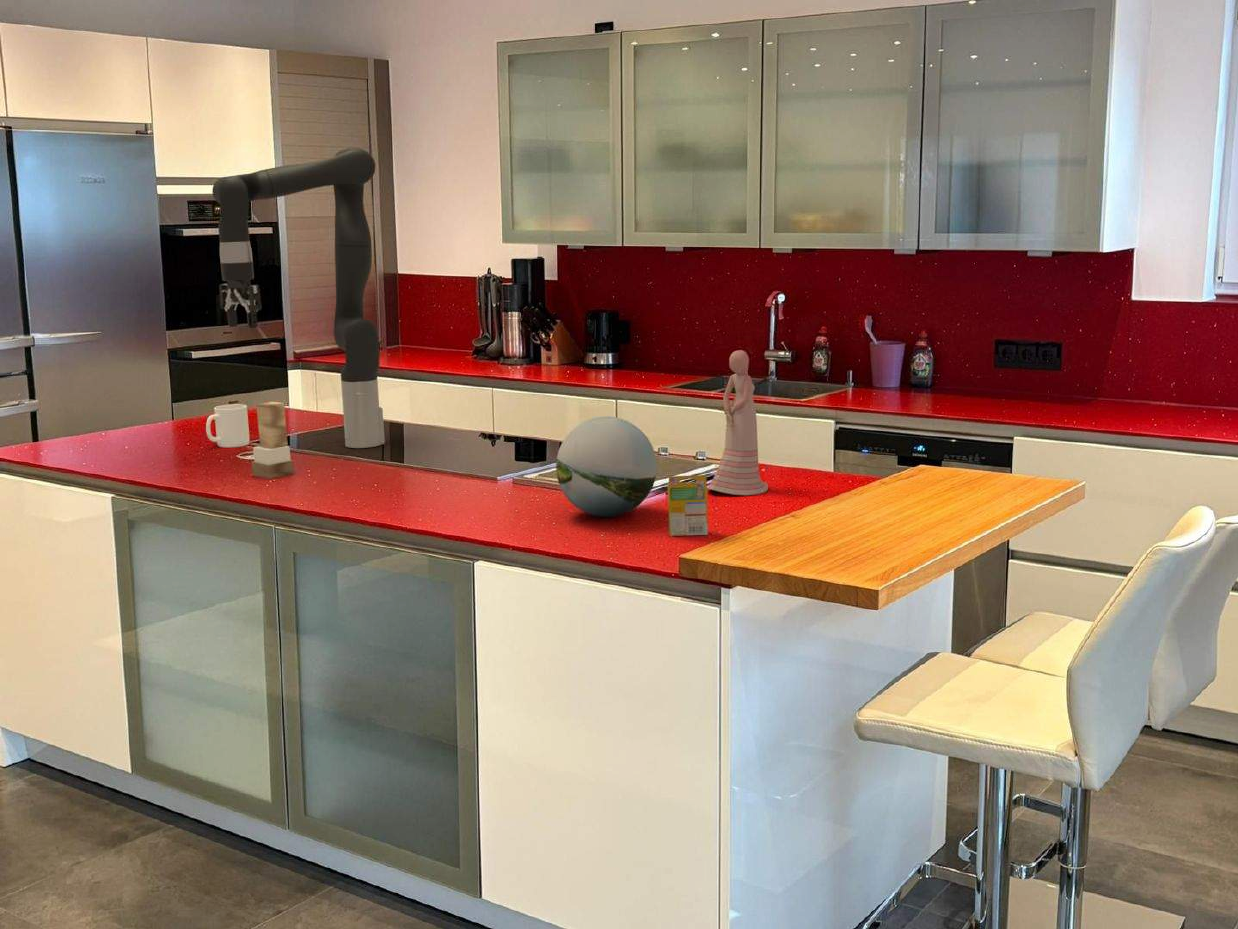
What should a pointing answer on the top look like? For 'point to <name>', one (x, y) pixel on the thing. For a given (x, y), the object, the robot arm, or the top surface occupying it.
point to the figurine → (739, 436)
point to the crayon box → (687, 506)
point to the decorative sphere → (606, 466)
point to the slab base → (273, 469)
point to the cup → (229, 426)
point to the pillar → (272, 424)
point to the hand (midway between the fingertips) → (242, 327)
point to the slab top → (271, 455)
